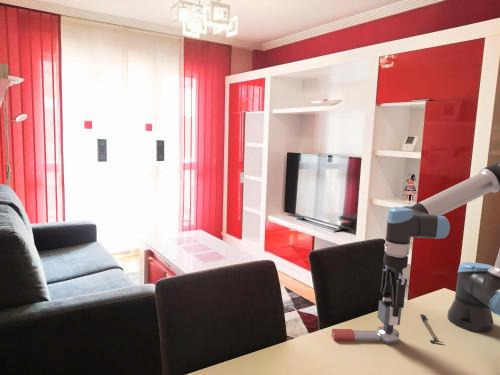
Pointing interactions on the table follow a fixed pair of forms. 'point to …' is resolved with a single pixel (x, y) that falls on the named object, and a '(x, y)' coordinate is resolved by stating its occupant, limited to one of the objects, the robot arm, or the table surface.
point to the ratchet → (367, 335)
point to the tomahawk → (430, 331)
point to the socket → (386, 312)
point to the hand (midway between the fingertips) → (389, 319)
